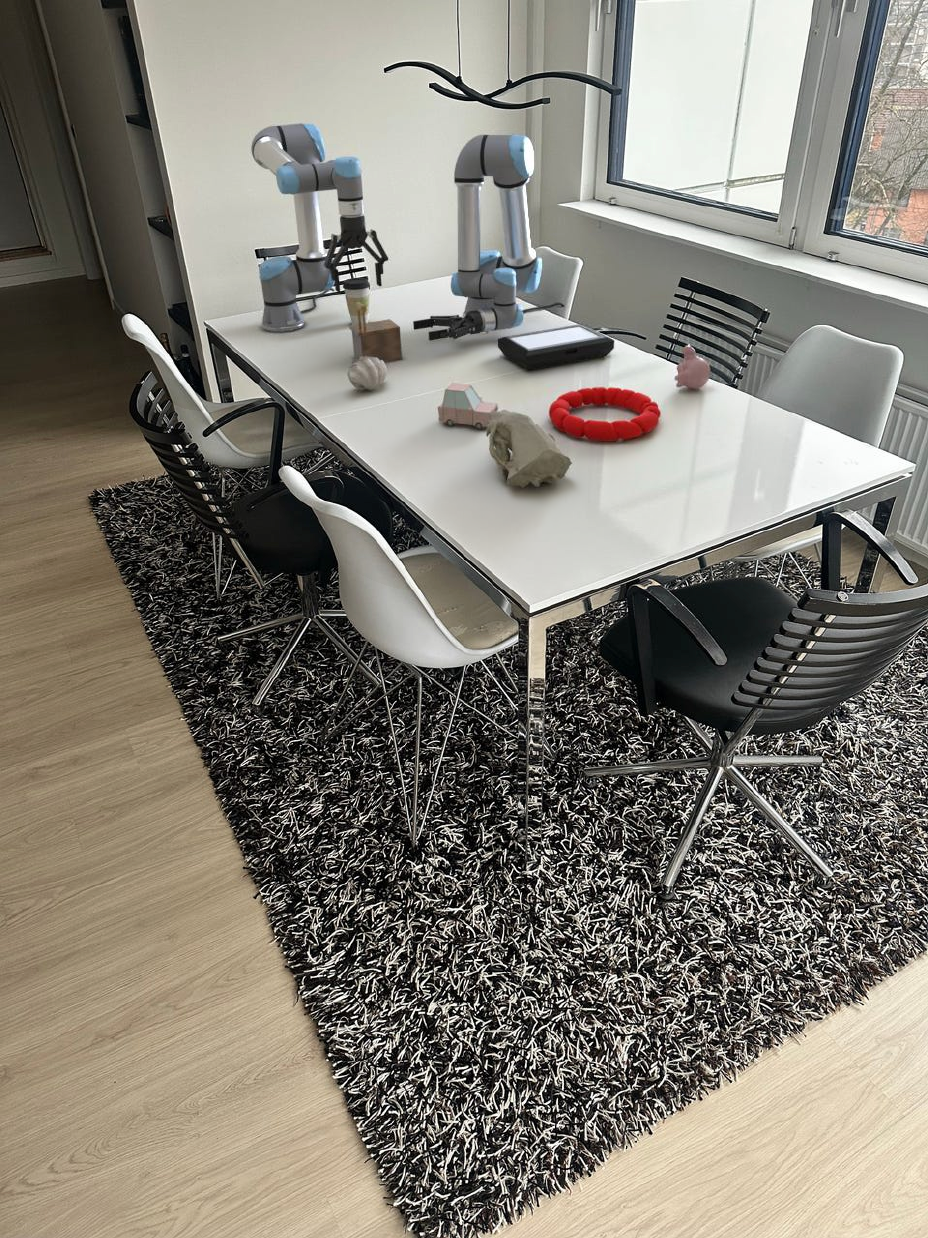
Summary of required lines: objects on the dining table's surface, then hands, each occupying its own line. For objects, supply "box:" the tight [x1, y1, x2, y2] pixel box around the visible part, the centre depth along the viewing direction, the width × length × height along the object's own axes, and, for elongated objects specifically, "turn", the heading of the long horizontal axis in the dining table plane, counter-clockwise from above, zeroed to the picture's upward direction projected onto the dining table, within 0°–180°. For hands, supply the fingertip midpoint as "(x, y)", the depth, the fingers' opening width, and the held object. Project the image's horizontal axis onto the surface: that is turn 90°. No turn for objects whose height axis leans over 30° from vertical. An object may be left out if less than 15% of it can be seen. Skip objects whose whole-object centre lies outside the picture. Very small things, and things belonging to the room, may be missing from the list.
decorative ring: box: [548, 386, 661, 442], centre depth 242 cm, size 7×30×30 cm
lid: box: [348, 302, 401, 337], centre depth 286 cm, size 14×10×9 cm
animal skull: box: [485, 409, 573, 489], centre depth 216 cm, size 17×25×20 cm
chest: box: [351, 329, 403, 363], centre depth 291 cm, size 13×10×10 cm
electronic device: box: [497, 323, 615, 371], centre depth 288 cm, size 32×6×20 cm
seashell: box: [347, 356, 388, 391], centre depth 267 cm, size 10×15×10 cm
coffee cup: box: [342, 277, 371, 325], centre depth 323 cm, size 10×10×15 cm
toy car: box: [437, 382, 499, 431], centre depth 243 cm, size 9×15×10 cm, turn 70°
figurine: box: [674, 344, 711, 390], centre depth 259 cm, size 9×11×12 cm
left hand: (358, 288), depth 279 cm, fingers open, 13 cm apart
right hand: (421, 330), depth 295 cm, fingers open, 13 cm apart
